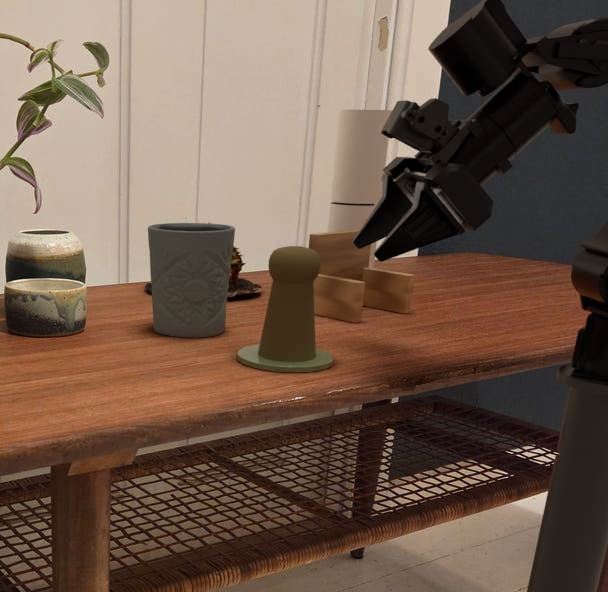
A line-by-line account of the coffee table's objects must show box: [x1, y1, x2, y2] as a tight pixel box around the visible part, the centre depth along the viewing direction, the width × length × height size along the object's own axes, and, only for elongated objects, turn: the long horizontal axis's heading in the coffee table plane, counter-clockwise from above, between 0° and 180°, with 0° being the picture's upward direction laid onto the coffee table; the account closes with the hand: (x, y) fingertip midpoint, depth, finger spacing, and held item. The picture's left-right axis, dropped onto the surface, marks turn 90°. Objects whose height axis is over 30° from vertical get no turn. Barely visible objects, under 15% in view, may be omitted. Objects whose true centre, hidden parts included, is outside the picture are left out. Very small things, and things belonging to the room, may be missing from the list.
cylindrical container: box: [327, 109, 393, 268], centre depth 128 cm, size 7×7×25 cm
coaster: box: [236, 343, 335, 374], centre depth 93 cm, size 10×10×1 cm
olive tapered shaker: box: [258, 245, 321, 362], centre depth 90 cm, size 6×6×11 cm
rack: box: [308, 230, 416, 324], centre depth 115 cm, size 9×11×10 cm
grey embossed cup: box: [147, 222, 236, 338], centre depth 104 cm, size 10×10×12 cm
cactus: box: [144, 221, 263, 298], centre depth 128 cm, size 17×16×10 cm
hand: (365, 251), depth 88 cm, fingers open, 9 cm apart
